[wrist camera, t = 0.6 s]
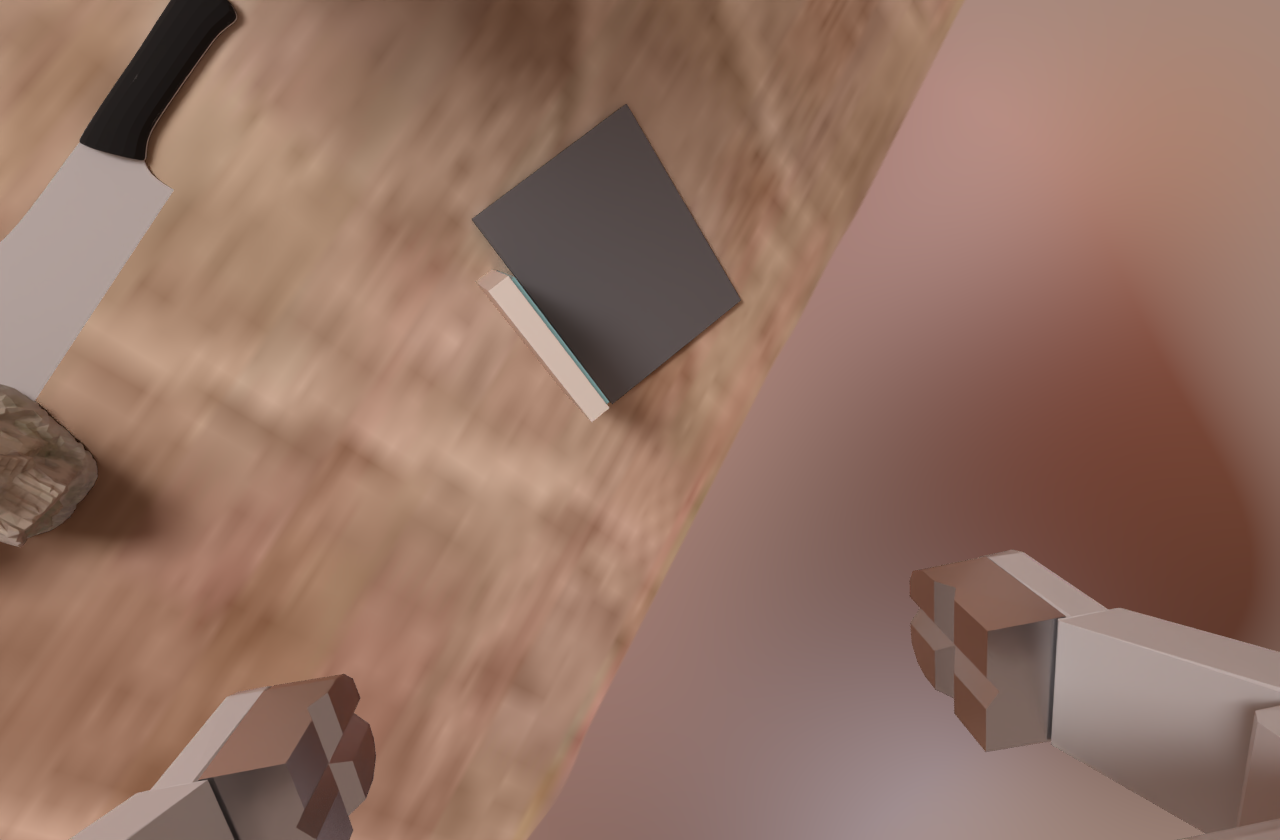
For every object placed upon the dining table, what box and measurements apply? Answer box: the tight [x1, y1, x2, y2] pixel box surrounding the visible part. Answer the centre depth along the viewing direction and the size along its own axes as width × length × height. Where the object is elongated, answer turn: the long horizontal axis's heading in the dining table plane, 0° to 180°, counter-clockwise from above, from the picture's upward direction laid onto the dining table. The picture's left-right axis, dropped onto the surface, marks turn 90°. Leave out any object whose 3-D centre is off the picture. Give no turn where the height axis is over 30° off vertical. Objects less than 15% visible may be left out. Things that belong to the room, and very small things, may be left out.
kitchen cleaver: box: [0, 0, 237, 401], centre depth 41 cm, size 31×2×10 cm
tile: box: [476, 269, 609, 422], centre depth 48 cm, size 2×12×11 cm, turn 36°
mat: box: [472, 104, 741, 404], centre depth 53 cm, size 16×20×1 cm
